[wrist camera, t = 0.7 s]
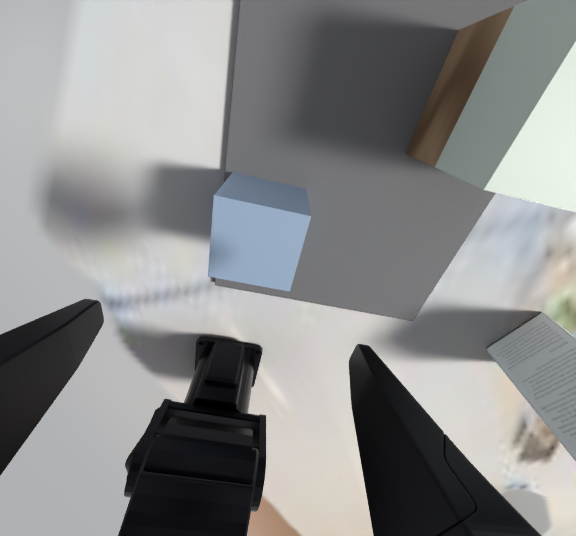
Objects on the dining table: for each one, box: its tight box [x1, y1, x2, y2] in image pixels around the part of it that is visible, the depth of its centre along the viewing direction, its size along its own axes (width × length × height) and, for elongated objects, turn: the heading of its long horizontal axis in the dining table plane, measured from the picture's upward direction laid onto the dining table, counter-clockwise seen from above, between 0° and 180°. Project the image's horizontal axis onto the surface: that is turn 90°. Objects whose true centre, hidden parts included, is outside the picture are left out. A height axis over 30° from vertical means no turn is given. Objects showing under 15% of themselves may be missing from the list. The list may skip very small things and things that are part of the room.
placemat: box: [215, 0, 527, 321], centre depth 17 cm, size 24×18×1 cm
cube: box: [208, 172, 311, 292], centre depth 17 cm, size 5×5×5 cm
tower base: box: [406, 6, 514, 167], centre depth 14 cm, size 6×6×4 cm
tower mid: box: [435, 0, 576, 212], centre depth 10 cm, size 6×6×4 cm
